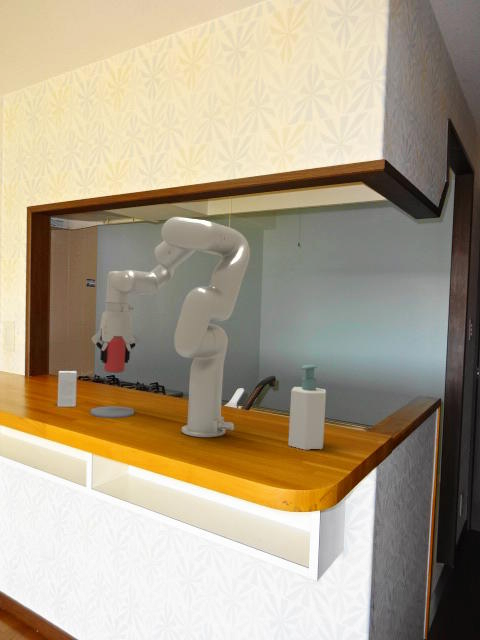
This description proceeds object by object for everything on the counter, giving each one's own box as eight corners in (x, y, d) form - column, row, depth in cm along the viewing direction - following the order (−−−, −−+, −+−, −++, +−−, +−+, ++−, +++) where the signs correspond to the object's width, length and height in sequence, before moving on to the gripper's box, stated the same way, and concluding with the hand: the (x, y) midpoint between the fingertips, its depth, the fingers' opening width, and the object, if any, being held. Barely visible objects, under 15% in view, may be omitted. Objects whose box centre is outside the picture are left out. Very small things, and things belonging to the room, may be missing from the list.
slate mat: (141, 411, 169) (141, 408, 169) (120, 419, 155) (120, 416, 155) (105, 407, 173) (105, 404, 173) (81, 414, 159) (81, 411, 159)
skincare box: (75, 404, 176) (77, 370, 175) (75, 406, 171) (77, 372, 171) (57, 404, 174) (58, 370, 173) (56, 407, 170) (58, 372, 169)
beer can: (119, 373, 160) (121, 336, 160) (100, 372, 161) (102, 335, 161) (127, 371, 166) (129, 335, 166) (109, 370, 168) (111, 334, 168)
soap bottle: (280, 444, 136) (285, 364, 135) (300, 439, 142) (304, 362, 142) (312, 452, 129) (317, 368, 129) (330, 446, 136) (335, 366, 135)
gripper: (139, 309, 171) (137, 361, 171) (88, 307, 163) (85, 361, 163) (146, 310, 164) (143, 364, 165) (93, 307, 156) (90, 363, 156)
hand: (114, 362), depth 164 cm, fingers closed on beer can, 6 cm apart
